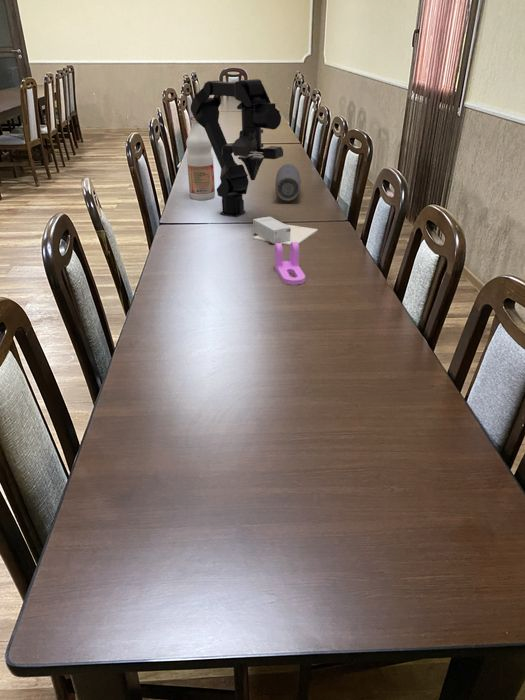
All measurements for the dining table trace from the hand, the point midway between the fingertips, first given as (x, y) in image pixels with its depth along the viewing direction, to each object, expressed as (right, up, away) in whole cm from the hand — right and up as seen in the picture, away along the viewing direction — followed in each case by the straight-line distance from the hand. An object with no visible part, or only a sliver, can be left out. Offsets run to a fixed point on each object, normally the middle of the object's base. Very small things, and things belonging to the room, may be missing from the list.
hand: (252, 180), depth 168 cm
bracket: (+10, -35, -33) cm, 49 cm away
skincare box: (+3, -15, -5) cm, 16 cm away
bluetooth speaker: (+13, +4, +33) cm, 36 cm away
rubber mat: (+10, -18, -6) cm, 22 cm away
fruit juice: (-19, +4, +33) cm, 38 cm away
